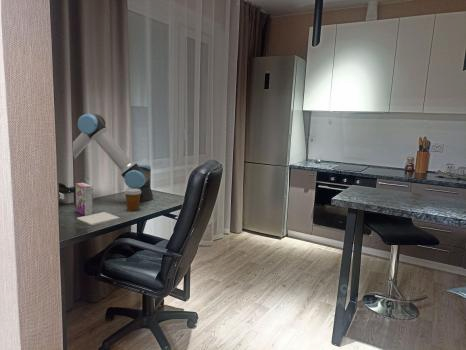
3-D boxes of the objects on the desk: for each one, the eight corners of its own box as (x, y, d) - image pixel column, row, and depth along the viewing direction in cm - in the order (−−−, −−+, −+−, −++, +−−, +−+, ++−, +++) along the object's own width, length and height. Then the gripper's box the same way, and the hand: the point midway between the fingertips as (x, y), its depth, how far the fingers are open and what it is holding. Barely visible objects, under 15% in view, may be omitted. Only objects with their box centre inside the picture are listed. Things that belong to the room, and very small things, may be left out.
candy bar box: (75, 211, 186) (74, 183, 183) (84, 210, 190) (84, 182, 187) (84, 216, 179) (83, 186, 176) (93, 215, 182) (92, 185, 179)
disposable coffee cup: (123, 211, 191) (123, 191, 189) (125, 207, 200) (125, 188, 198) (140, 211, 193) (140, 191, 191) (141, 207, 202) (142, 188, 200)
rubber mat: (104, 213, 186) (104, 211, 186) (119, 218, 178) (119, 217, 178) (76, 219, 174) (76, 217, 173) (91, 225, 165) (91, 223, 165)
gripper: (77, 191, 211) (96, 197, 198) (35, 197, 191) (53, 205, 178) (77, 180, 209) (95, 185, 197) (35, 185, 190) (52, 191, 177)
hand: (75, 194), depth 188 cm, fingers open, 13 cm apart
